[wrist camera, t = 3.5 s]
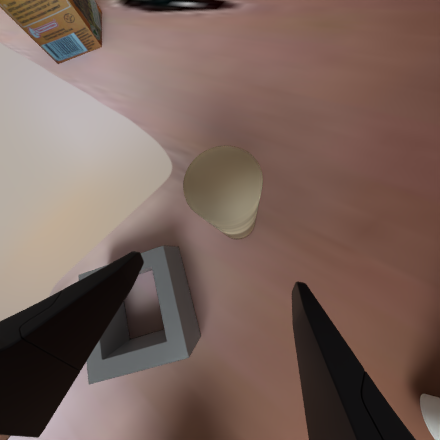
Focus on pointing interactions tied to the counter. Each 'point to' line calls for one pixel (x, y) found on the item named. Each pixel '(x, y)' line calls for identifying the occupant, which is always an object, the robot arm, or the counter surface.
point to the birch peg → (225, 189)
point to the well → (155, 342)
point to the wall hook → (431, 413)
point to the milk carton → (59, 25)
